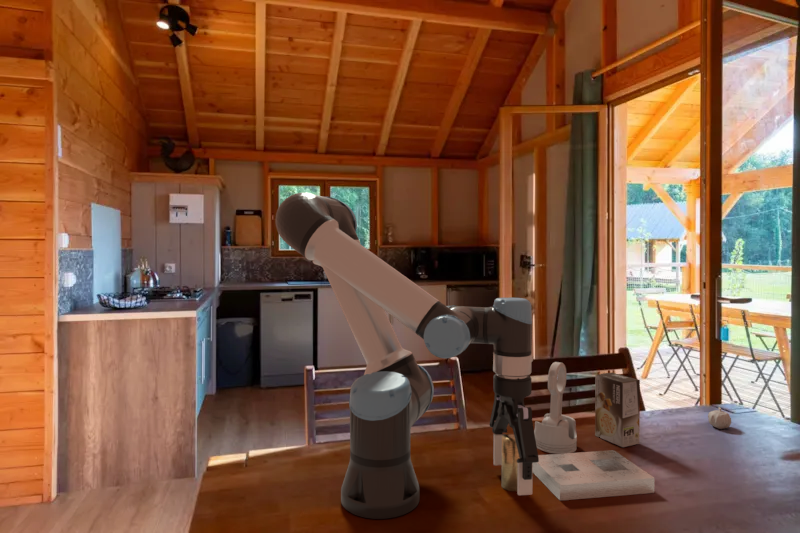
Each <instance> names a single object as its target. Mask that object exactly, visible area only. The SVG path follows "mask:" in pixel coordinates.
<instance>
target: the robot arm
mask: <svg viewBox="0 0 800 533" xmlns="http://www.w3.org/2000/svg"><path fill="white" fill-rule="evenodd" d="M275 227H276V228H275V229H276V231H277V233H278V235H279V236H280V238H281V240H283V242H284V243H285V244H287V245H288V246H289V247H291V249H292V250H294V251H295V252H297V253H298V254H300V255H301V256H302V257H303V258H305V259H307V261H312V263H313V264H314V265H316V266H319V267H321V268H322V269H323V271H324V274H325V276H326V278H327V280H328V282H329V284H330V286H331V290H332V291H333V293H334V296H335V298H336V300H337V302H338V304H339V306H340V309H341V311H342V313H343V315H344V317H345V319H346V321H347V323H348V326H349V329H350V330H351V332H352V335H353V337H354V339H355V341H356V344H357V346H358V348H359V350H360V352H361V354H362V356H363V359H364V361H365V363H366V364H365V365H366V367H365V370H364V373H363V375H361V376H359V377H357V378H356V379H355V380H354V381H353V383H352V384H351V387H350V391H349V392H350V394H349V400H348V405H349V454H350V455H349V463H348V466H347V470H346V471H345V475H344V478H343V482H342V484H341V488H340V503H341V506H342V507H343V508H344V509H345V510H346V511H347V512H349V513H350V514H353V515H355V516H358V517H361V518H365V519H373V520H374V519H378V520H386V519H392V518H398V517H401V516H403V515H406V514H408V513H411V512H412V511H413V510H414V509H416V508H417V506H418V505H419V502H420V484H419V481H418V478H417V475H416V473H415V469H414V466H413V462H412V458H411V435H412V434H411V431H412V428H411V427H413V426H414V425H415V423H416V422H417V421H418V420H419V419H420V418H421V417H423V415H424V414H426V412H427V411H428V410H429V407H430V405H431V403H432V401H433V398H434V393H435V392H434V390H435V388H434V382H433V379H432V376H431V375H430V373H429V372H428V371H427V369H425V368H424V366H422V365H420V364H418V363H417V361H416V360H417V359H416V358H415V356H414V354H413V352H412V351H410V350H408V349H405V348H403V347H402V344H401V342H400V341H399V338H398V336H397V333H396V332H395V330H394V328H393V325H392V324H391V321H390V319H389V317H388V314H389V315H390V316H392V317H393V318H394V319H396V320H397V321H398V322H400V323H401V324H403V325H404V326H405V327H406V328H408V329H409V330H411V331H412V332H413V333H415V334H416V335H417V336H419V337H420V338H421V339H422V340H423V343H424V344H425V347H426V348H427V350H428V352H430V354H432V355H433V356H435V357H437V358H440V359H451V358H454V357H456V356H458V355H461V354H462V353H463V352H464V351H466V349H467V348H468V347H469V346H470V345H471V344H480V345H481V344H482V345H483V344H486V345H493V352H492V354H493V355H492V356H493V358H492V359H493V360H492V361H493V364H492V371H493V373H495V374H493V380H492V381H493V392H494V399H493V405H492V409H491V414H490V419H489V420H490V421H489V428H492V434H493V438H492V440H493V441H492V442H493V449H492V450H493V456H492V457H493V458H492V460H493V462H492V463H493V466H502V436H503V435H507V434H506V433H508V429H507V428H508V426H509V428H512V432H513V435H514V437H515V441H516V445H517V449H518V453H519V458H518V459H517V460H516V461H517V463H518V472H517V491H516V492H517V493H516V494H517V496H529V495H530V496H531V495H533V474H534V473H533V463H536V462H539V458H538V455H539V452H538V448H537V446H536V440H535V434H534V429H535V427H534V423H533V410H532V407H531V406H529V407H526V406H525V398H527V397H529V396H530V395H532V377H531V376H530V375H531V373H532V362H533V361H534V358H533V357H532V349H533V347H532V346H533V314H532V313H533V310H532V309H533V308H532V303H531V302H530V300H528V299H527V298H522V297H497V298H495V299H494V302H493V305H492V306H488V307H486V306H485V307H484V306H483V307H481V306H463V305H456V304H455V305H454V304H453V305H446V304H444V303H443V302H441V301H440V300H439V299H438V298H436V297H435V296H433V295H432V294H430V293H429V292H428V291H426V290H425V289H423V288H422V287H420V286H419V285H418V284H417V283H415V282H414V281H413V280H411V279H409V278H408V277H407V276H405V275H404V274H402V273H401V272H400V271H398V270H397V269H396V268H394V267H393V266H391V265H390V264H389V263H387V262H386V261H384V260H383V259H382V258H380V257H379V256H377V255H376V254H375V253H374V252H372V251H370V250H369V249H368V248H366V247H364V246H363V245H362V244H361V241H360V238H359V236H358V234H357V228H358V223H357V218H356V214H355V213H354V211H353V210H352V209H351V207H350V206H349V205H348V204H346V203H345V202H343V201H342V200H340V199H338V198H335V197H331V196H323V195H322V196H321V195H318V194H315V193H311V192H298V193H297V192H296V193H293V194H292V195H289V196H288V197H286V198H285V199H283V201H281V203H280V204H279V207H278V208H277V209H276V213H275ZM387 313H388V314H387Z"/></svg>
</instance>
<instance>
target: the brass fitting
mask: <svg viewBox="0 0 800 533" xmlns="http://www.w3.org/2000/svg"><path fill="white" fill-rule="evenodd" d="M518 458H519V453H518V449H517V445H516V441H515V437H514V434H513V433H511V434H510V433H509V434H506V435H503V436H502V465H501V488H502V489H503V490H505V491H508V492H517V472H518V463H517V461H516V460H517V459H518Z"/></svg>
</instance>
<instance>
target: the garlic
mask: <svg viewBox="0 0 800 533" xmlns="http://www.w3.org/2000/svg"><path fill="white" fill-rule="evenodd" d="M707 418H708V423H709V424H710V425H711V426H712V427H714V428H716V429H719V430H723V429H727V428H729V427H730V426H731V424H732V417H731V416H730V414H729V413H728V412H726V411H723V410H722V408H721V407H720V406H719V407H718V409H715V410H711V411H709V412H708V415H707Z"/></svg>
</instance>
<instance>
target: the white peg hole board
mask: <svg viewBox="0 0 800 533" xmlns="http://www.w3.org/2000/svg"><path fill="white" fill-rule="evenodd" d="M538 458H539V462H536V463H533V474H534V475H535V477H537V478H538V480H539V481H540V482H542V484H544V486H545V487H546V488H547V489H548V490H549V492H551V494H553V495H554V496H555V497H556V498H557V499H558V500H559V501H569V500H571V501H572V500H581V499H582V500H583V499H594V498H595V499H596V498H606V497H619V496H630V495H631V496H632V495H643V494H645V495H646V494H654V493H655V477H654V476H653V475H651V474H649V473H648V472H647V471H645V470H644V469H642V468H641V467H640V466H638V465H637V464H635V463H634V462H632V461H630V460H629V459H627V458H626V457H625V456H623V455H622V454H620V453H619V452H618V451H616V450H614V449H610V450H597V451H581V452H572V453H564V454H554V453H549V454H538Z"/></svg>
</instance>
